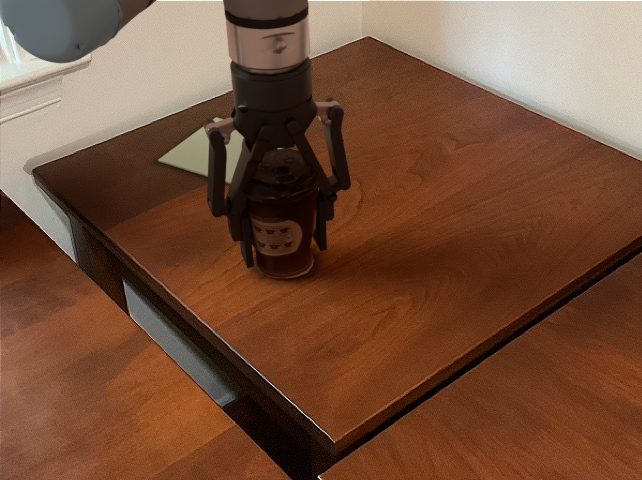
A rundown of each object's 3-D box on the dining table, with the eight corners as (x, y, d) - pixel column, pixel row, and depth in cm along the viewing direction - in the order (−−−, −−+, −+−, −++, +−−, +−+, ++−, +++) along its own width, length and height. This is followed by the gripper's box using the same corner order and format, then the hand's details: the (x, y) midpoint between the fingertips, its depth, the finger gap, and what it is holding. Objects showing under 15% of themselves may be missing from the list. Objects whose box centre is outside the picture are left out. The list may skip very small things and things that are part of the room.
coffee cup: (305, 295, 87) (299, 194, 79) (234, 280, 89) (221, 179, 81) (333, 247, 93) (330, 149, 85) (266, 234, 95) (257, 136, 87)
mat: (158, 161, 108) (157, 159, 108) (216, 119, 117) (215, 117, 117) (239, 186, 103) (239, 185, 103) (293, 140, 112) (293, 138, 112)
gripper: (167, 93, 70) (199, 294, 85) (387, 56, 76) (383, 251, 90) (152, 58, 76) (185, 252, 90) (359, 26, 81) (358, 214, 96)
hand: (284, 251), depth 90 cm, fingers closed on coffee cup, 8 cm apart
